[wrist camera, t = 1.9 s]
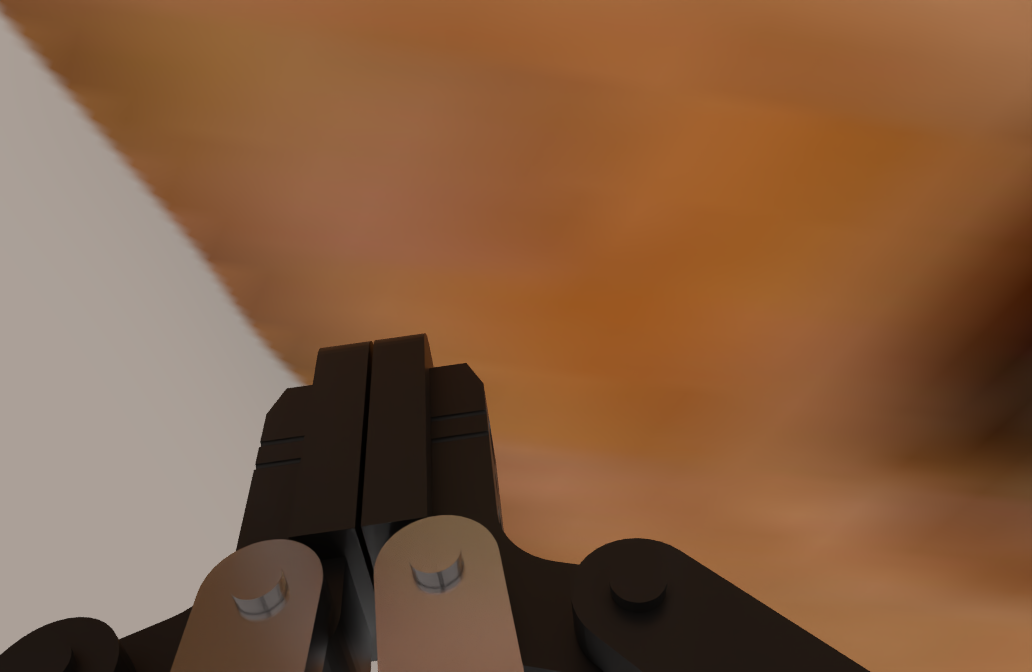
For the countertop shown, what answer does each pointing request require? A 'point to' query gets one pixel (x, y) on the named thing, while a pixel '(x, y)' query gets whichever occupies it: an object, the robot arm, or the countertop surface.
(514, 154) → the countertop surface
